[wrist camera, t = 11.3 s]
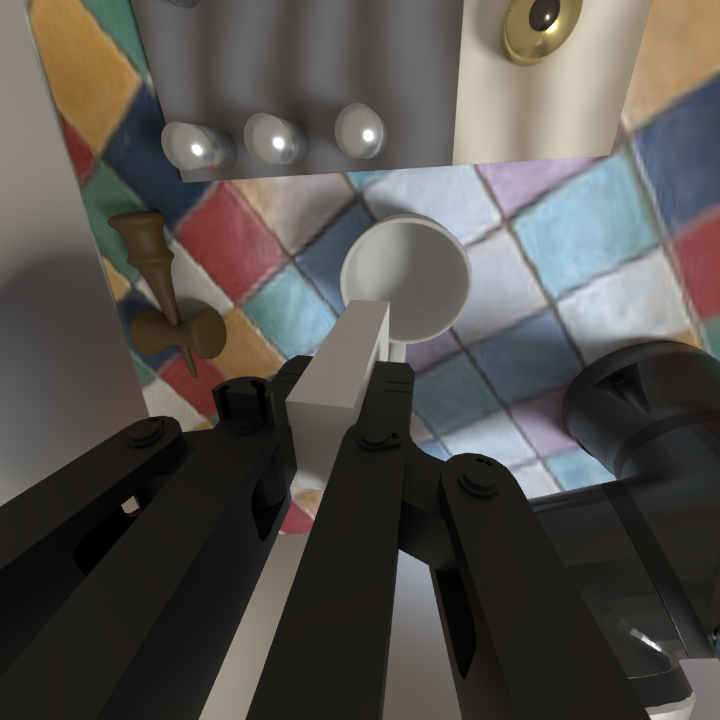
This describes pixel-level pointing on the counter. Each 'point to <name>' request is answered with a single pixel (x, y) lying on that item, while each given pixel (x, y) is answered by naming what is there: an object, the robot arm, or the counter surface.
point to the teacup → (409, 277)
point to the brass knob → (537, 28)
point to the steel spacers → (270, 137)
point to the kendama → (165, 295)
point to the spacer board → (390, 78)
